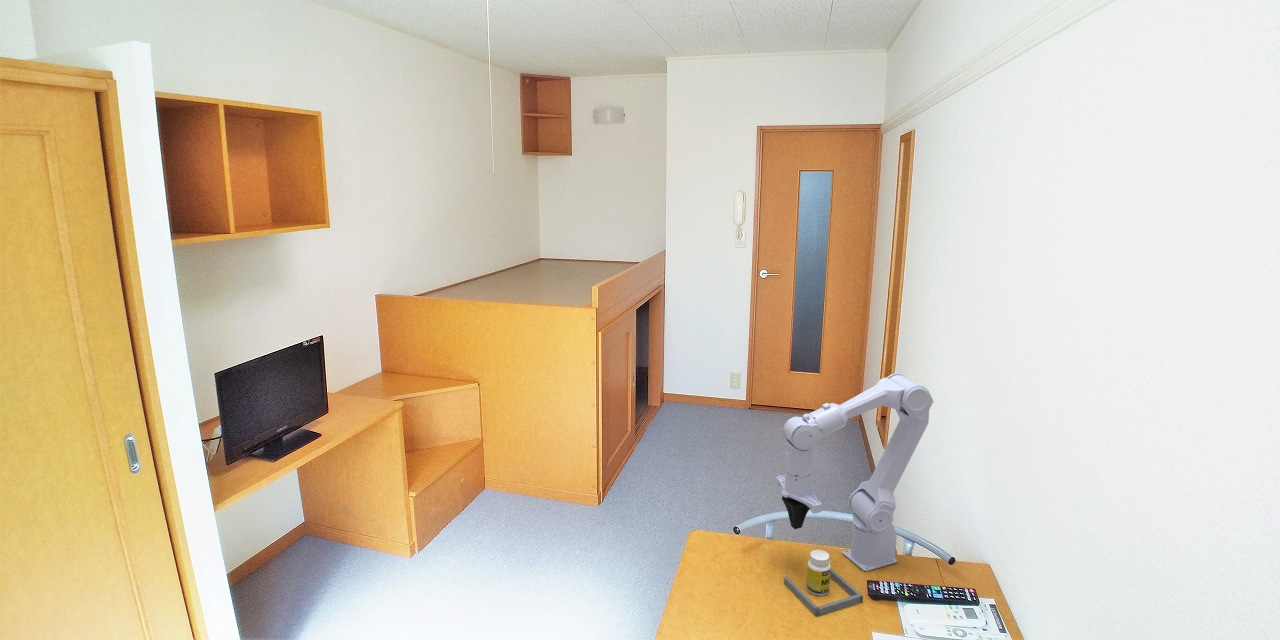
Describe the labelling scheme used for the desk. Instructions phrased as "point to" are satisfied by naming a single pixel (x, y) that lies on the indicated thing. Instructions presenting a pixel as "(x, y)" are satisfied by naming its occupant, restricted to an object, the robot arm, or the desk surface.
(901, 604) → the desk surface
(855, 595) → the corral
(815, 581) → the supplement bottle
